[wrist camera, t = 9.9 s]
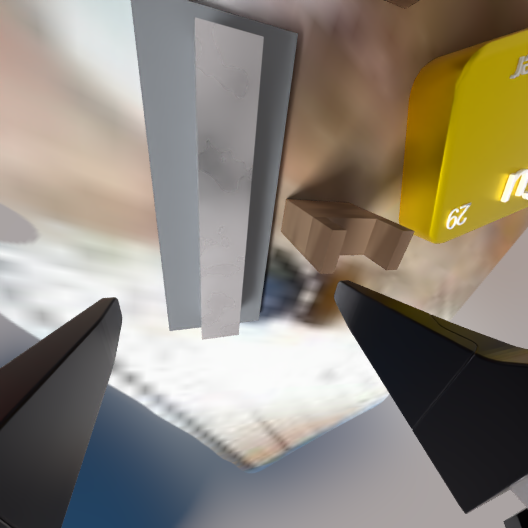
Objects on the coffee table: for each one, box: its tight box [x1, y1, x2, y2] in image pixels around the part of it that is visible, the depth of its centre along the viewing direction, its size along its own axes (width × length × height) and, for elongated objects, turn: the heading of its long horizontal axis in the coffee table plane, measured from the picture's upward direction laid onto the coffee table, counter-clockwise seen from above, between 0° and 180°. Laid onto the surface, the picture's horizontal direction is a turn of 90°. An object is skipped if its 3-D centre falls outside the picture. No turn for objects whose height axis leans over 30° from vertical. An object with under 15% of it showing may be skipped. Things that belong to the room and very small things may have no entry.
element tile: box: [399, 28, 528, 244], centre depth 20 cm, size 15×15×5 cm
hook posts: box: [281, 0, 419, 274], centre depth 14 cm, size 6×19×8 cm, turn 173°
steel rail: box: [194, 17, 264, 339], centre depth 16 cm, size 3×20×3 cm, turn 173°
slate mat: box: [131, 0, 298, 331], centre depth 18 cm, size 9×23×1 cm, turn 173°
